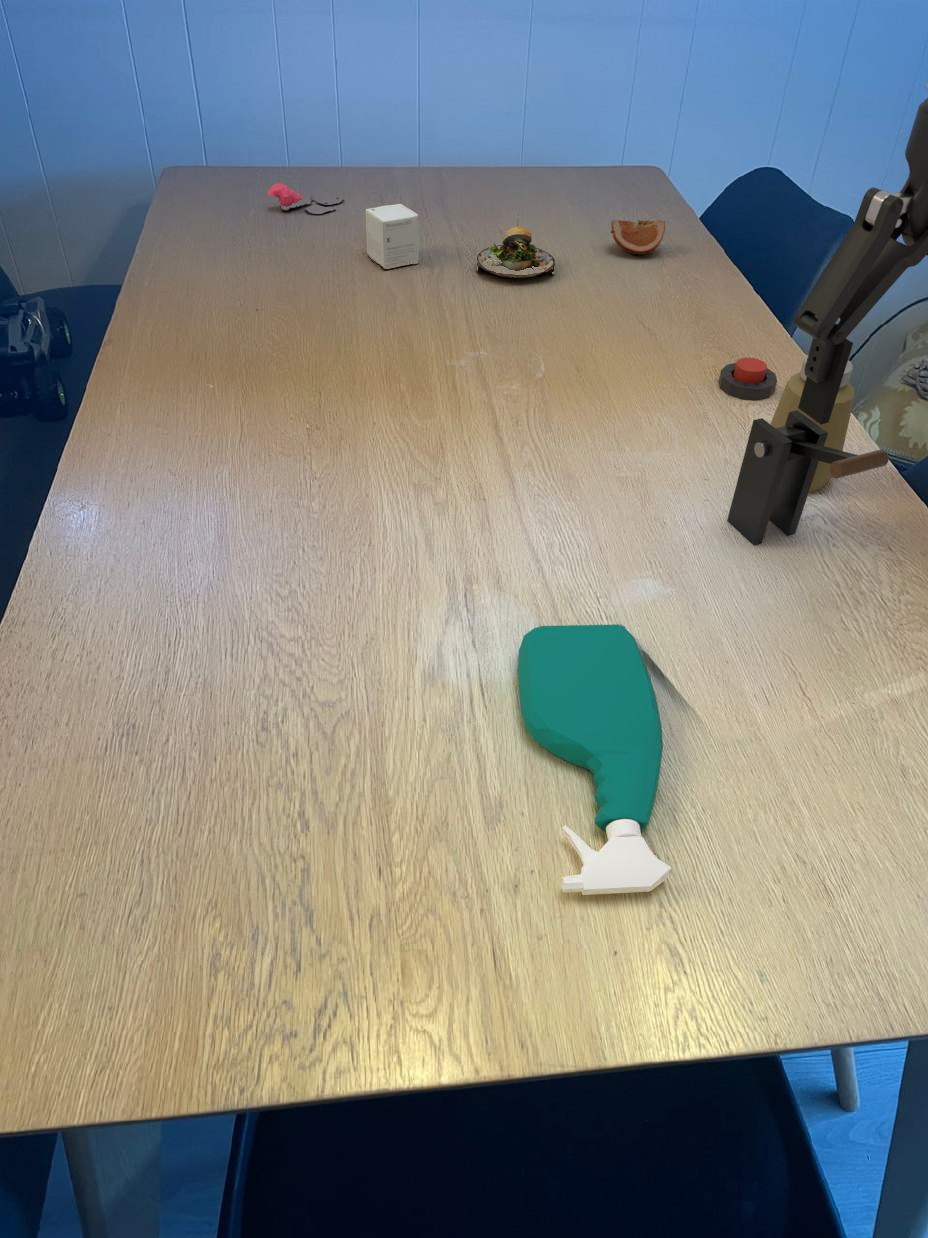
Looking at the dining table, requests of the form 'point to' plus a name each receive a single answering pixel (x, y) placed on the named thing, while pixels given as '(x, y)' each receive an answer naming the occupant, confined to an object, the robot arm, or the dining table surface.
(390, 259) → the product box
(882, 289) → the robot arm
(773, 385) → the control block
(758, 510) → the bracket
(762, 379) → the button
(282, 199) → the pink fuzzy curved piece
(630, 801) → the spray bottle
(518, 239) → the burger
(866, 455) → the lever
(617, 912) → the dining table surface
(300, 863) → the dining table surface
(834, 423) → the squeeze bottle
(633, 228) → the fruit slice
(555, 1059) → the dining table surface
